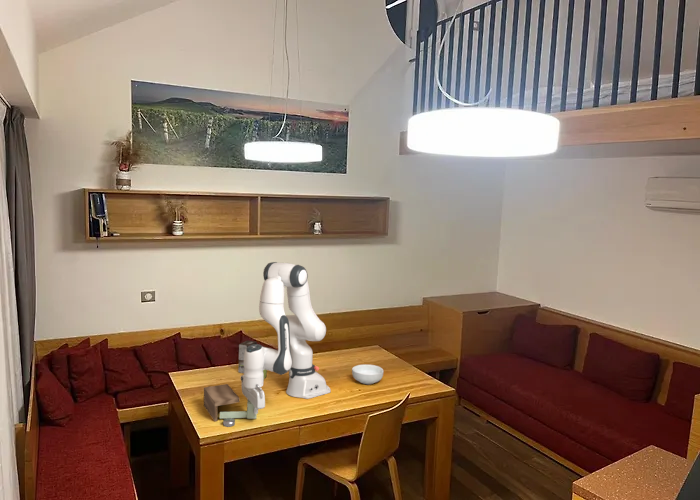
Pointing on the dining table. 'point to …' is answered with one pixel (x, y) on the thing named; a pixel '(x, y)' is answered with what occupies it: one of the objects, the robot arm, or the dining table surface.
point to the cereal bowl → (367, 373)
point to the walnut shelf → (218, 398)
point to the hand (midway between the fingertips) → (253, 410)
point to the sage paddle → (240, 413)
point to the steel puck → (228, 422)
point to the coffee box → (241, 354)
